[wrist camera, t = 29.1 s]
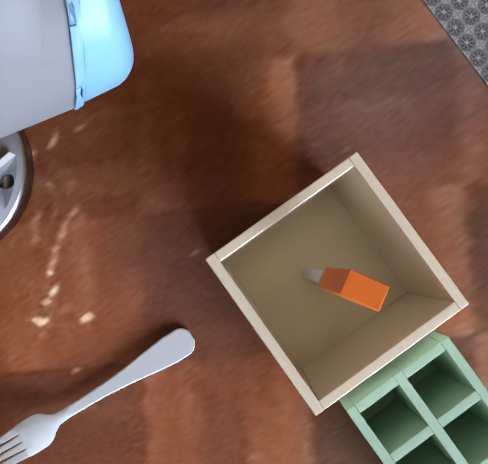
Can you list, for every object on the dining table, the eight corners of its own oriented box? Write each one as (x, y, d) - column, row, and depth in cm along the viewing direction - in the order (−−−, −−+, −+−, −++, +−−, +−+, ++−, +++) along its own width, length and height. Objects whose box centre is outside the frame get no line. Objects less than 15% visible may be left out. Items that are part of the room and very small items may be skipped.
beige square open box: (298, 377, 39) (315, 416, 30) (215, 259, 40) (204, 259, 30) (414, 293, 40) (469, 303, 30) (330, 177, 40) (356, 151, 31)
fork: (200, 346, 42) (200, 350, 39) (-12, 479, 39) (-28, 494, 36) (184, 319, 42) (183, 322, 39) (-28, 450, 39) (-46, 462, 36)
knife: (325, 291, 39) (381, 313, 23) (300, 279, 39) (337, 293, 23) (332, 276, 39) (392, 287, 23) (306, 264, 39) (348, 267, 23)
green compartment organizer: (418, 511, 39) (458, 569, 31) (327, 383, 39) (345, 411, 32) (503, 448, 39) (562, 492, 32) (411, 322, 40) (448, 336, 32)
